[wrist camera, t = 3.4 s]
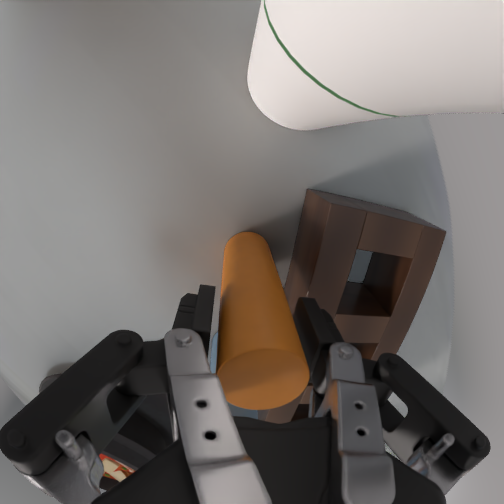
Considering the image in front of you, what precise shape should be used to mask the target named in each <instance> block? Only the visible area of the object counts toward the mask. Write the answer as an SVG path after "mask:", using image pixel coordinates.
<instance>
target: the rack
mask: <svg viewBox="0 0 504 504" xmlns="http://www.w3.org/2000/svg"><path fill="white" fill-rule="evenodd" d="M445 235H446V231H444V230H443V229H441V228H439V227H437V226H435V225H433V224H431V223H429V222H427V221H425V220H423V219H420V218H418V217H416V216H414V215H412V214H410V213H408V212H404V211H401V210H397V209H393V208H390V207H386V206H382V205H378V204H374V203H370V202H366V201H362V200H357V199H353V198H349V197H345V196H340V195H336V194H331V193H326V192H322V191H317V190H312V189H307V192H306V197H305V201H304V206H303V211H302V215H301V220H300V224H299V229H298V233H297V238H296V242H295V246H294V251H293V255H292V259H291V264H290V268H289V272H288V276H287V280H286V284H285V288H284V293H285V296H286V299H287V302H288V305H289V308H290V311H291V314H292V317H293V314H294V311H295V307H296V304H297V300H298V298H299V297H308V298H315V299H316V301H317V303H318V305H319V307H320V309H324V310H326V311H327V312H328V313H329V314H330V315H331V317H332V319H333V320H334V323H335V324H336V326H337V328H338V330H339V332H340V334H341V336H342V338H343V340H344V341H345V343H348V344H351V345H353V346H354V347H356V348H357V349H358V350H359V351H360V353H361V357H362V358H365V359H370V360H374V361H377V360H378V358H379V356H380V355H381V354H383V353H393V354H396V353H397V351H398V349H399V347H400V346H401V344H402V342H403V340H404V338H405V336H406V334H407V332H408V330H409V327H410V325H411V323H412V321H413V319H414V317H415V315H416V312H417V310H418V308H419V305H420V303H421V301H422V298H423V296H424V294H425V291H426V289H427V286H428V284H429V281H430V279H431V276H432V273H433V271H434V268H435V265H436V262H437V259H438V256H439V253H440V250H441V247H442V244H443V241H444V238H445ZM357 249H360V250H366V251H372V252H373V255H372V258H371V262H370V265H369V268H368V271H367V274H366V277H365V280H364V283H363V284H361V283H352V282H347V279H348V276H349V273H350V270H351V266H352V263H353V260H354V256H355V253H356V250H357ZM312 388H313V383H308V385H307V386H306V388H305V390H304V391H303V392H302V393H301V394H300V395H299V396H298V397H297V398H296V399H294V400H293V401H291V402H289V403H287V404H285V405H282V406H280V407H276V408H272V409H266V410H257V412H258V420H263V421H267V422H272V423H277V424H282V423H287V422H291V421H295V420H300V419H304V418H308V415H309V402H310V392H311V390H312Z"/></svg>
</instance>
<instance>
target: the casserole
mask: <svg viewBox="0 0 504 504" xmlns="http://www.w3.org/2000/svg"><path fill="white" fill-rule="evenodd" d="M61 375H62V374H55V375H52V376H48V377H46V378H45V379H44V380H43V381H42V382H41V385H40V387H39V393H41V392H42V391H43V390H44V389H46V388H47V387H48V386H49V385H50V384H51V383H53V382H54V381H55V380H56V379H57V378H58V377H59V376H61ZM172 443H174V441H173V435H172V427H171V420H170V415H169V408H168V402H167V395H166V394H155V395H147V396H146V398H145V399H144V400H143V402H142V403H141V404H140V405H139V407H138V408H137V409H136V410H135V412H134V413H133V414H132V415H131V417H130V418H129V419H128V420H127V422H126V423H125V424H124V425H123V427H122V428H121V429H120V430H119V432H118V433H117V434H116V435H115V436H114V438H113V439H112V440H111V441H110V443H109V444H108V445H107V446H106V448H105V449H104V450H103V451H102V453H101V454H100V455H99V457H100V459H101V460H102V462H103V465H104V473H103V476H102V478H101V480H100V483H99V488H101V489H104V490H109V489H110V488H112V487H113V486H115V485H116V484H118V483H119V482H121V481H122V480H124V479H125V478H126V477H128V476H129V475H131V474H132V473H134V472H135V471H136V470H138V469H139V468H141V467H142V466H143V465H145V464H146V463H147V462H149V461H150V460H151V459H153V458H154V457H155V456H157V455H158V454H159V453H161V452H162V451H163V450H165V449H166V448H167V447H168V446H170V445H171V444H172Z"/></svg>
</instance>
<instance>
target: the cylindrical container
mask: <svg viewBox="0 0 504 504" xmlns="http://www.w3.org/2000/svg"><path fill="white" fill-rule="evenodd" d="M247 82H248V89H249V92H250V94H251V97H252V99H253V101H254V102H255V104H256V106H257V107H258V108H259V109H260V110H261V112H262V113H263V114H264V115H266V116H267V117H268V118H269V119H271V120H272V121H274V122H276V123H277V124H279V125H281V126H284V127H287V128H290V129H295V130H302V131H305V130H316V129H322V128H327V127H333V126H338V125H344V124H351V123H357V122H364V121H371V120H379V119H387V118H396V117H406V116H417V115H430V114H448V113H449V114H450V113H502V114H504V0H262V1H261V6H260V10H259V15H258V20H257V25H256V30H255V35H254V40H253V45H252V50H251V55H250V61H249V66H248V74H247Z"/></svg>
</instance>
